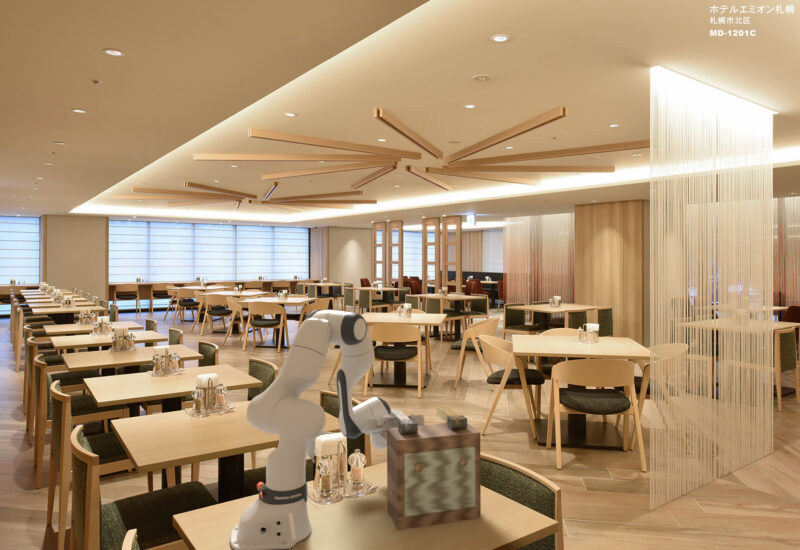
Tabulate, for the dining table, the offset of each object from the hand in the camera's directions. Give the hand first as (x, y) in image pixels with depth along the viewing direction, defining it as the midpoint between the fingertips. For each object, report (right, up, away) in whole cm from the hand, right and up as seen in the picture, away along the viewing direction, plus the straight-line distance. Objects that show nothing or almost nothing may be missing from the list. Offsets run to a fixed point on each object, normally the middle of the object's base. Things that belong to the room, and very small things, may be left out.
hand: (399, 417), depth 169 cm
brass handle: (+16, -2, +1) cm, 16 cm away
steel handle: (+1, -2, -3) cm, 4 cm away
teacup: (-33, -28, +40) cm, 59 cm away
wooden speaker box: (+11, -28, -7) cm, 31 cm away
